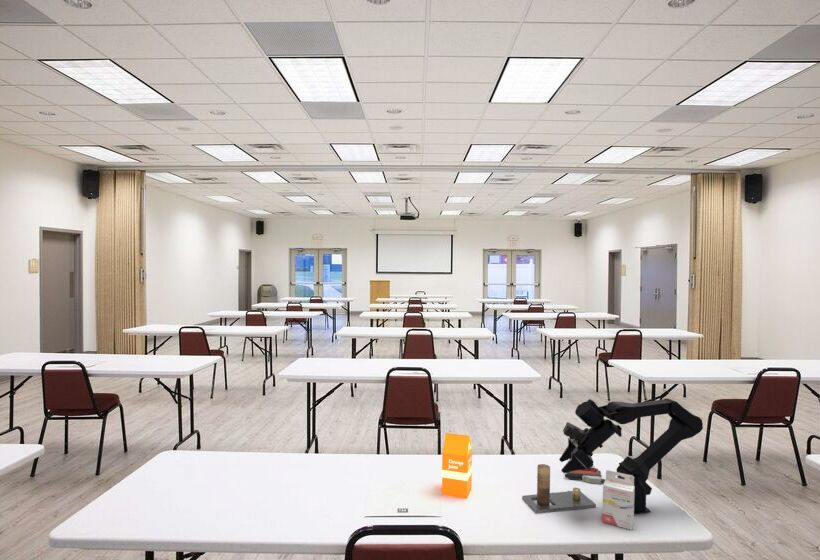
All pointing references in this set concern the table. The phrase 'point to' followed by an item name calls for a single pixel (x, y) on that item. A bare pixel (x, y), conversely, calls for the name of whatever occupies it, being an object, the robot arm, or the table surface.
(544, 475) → the peg
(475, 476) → the table surface
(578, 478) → the red gray flat block
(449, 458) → the orange juice
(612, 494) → the ink cartridge box
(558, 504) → the plate
